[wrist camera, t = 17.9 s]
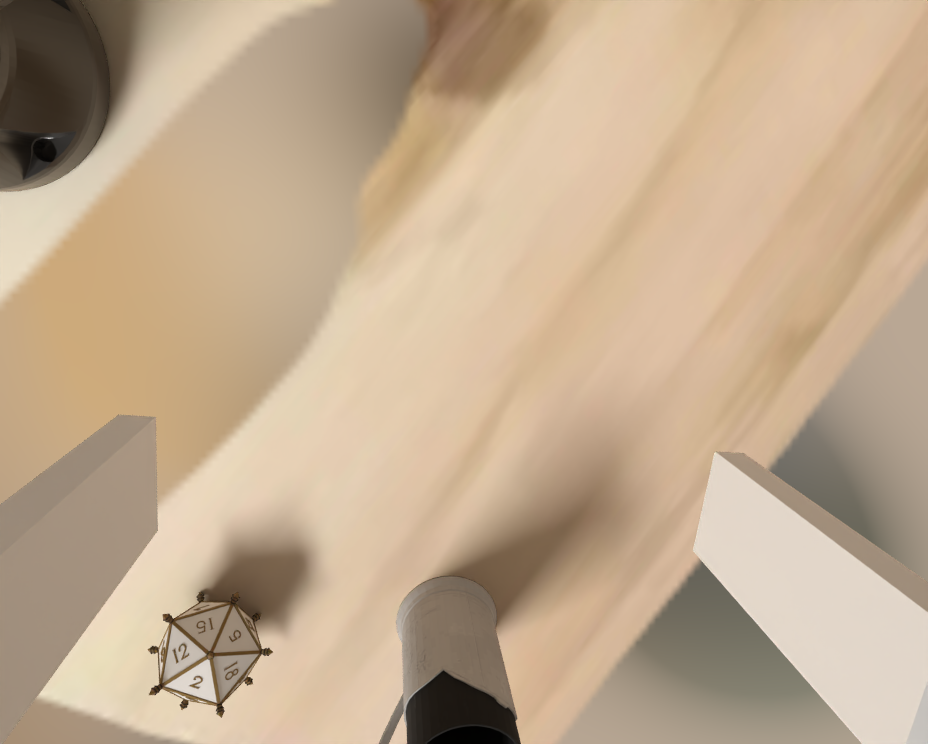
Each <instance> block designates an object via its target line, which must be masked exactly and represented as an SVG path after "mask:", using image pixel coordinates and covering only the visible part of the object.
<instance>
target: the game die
mask: <svg viewBox="0 0 928 744" xmlns="http://www.w3.org/2000/svg"><path fill="white" fill-rule="evenodd" d="M232 596H233V597H231V599H232V600H231V602H217V601H203V600H204V595H203V594H202V593H200V592H199V594H198V596H197V598H198V599H197V600H198V601H199V603H198V604H196V605H195V606H193V607H192V608H190V609H188V610H187V611H185V612H184V613H182V614H181V615H179V616H177V617H176V618H174V619H172V616H170V614H163V621H166V622H169V623H170V624H169V626H168V628H167V630H166V633H165V635H164V637H163V639H162V642H161V644H160V646H159V648H158V647H156V646H155V647H154V646H152V647H151V648H149V649H148V651H149V652H150V653H151V654H152V653H154V654H155V653H157V652H158V665H159V685H158V686H155V687H154V688H151V691H150V694H149V695H156V694H157V693H159V691H160V690H161V689H164V690H166V691H168V692H170V693H172V694H174V695H176V696H178V697H180V698H182V699H184V700H183V701H182V702H181V704H180V706H181V710H183V709H184V708H187V705H188V701H192V702H197V703H203V704H208V705H214V706H217V709H216V711H217V713H216V714H218V715H219V716H220V717H221V718H222V715H223V713H224V712H225V711H224V709H223V708H224V707H223V706H222V703H223V702H224V701H225V700H226V699H227V698H228V697H229V696H230V695H231V694H232V693H233V692H234V691H235V690H236V689H237V688H238V687H239V686H240V685H241V684H242V683H243V682H244V681H245V684H247V686H248V685H251V684H253V682H252V680H253V679H251V678H250V677H248V675H249V673H250V672H251V670H252V669H253V667H254V665H255V664H256V662H257V661H258V659H259V657H260V656H261V654H263V655H264V656H266V655H267V656H269V655H270V654H271V653H273V651H271V650H270V649H269V648H268V649H266V648H265V649H262V648H261V644H260V641H259V638H258V634H257V631H256V627H255V624H254V621H257V620H258V619H260V616H261V614H257V613H256V614H255V615H253V617H252V618H251V617H250V616H249V615H248V614H246V613H245V612H244V611H243V610H242V609H241V608H240V607H239V606H238V605H237V604H236V601H238V598H240V597H239V594H238V592H237V593H235V594H233V595H232Z"/></svg>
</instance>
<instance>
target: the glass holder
mask: <svg viewBox="0 0 928 744" xmlns="http://www.w3.org/2000/svg"><path fill="white" fill-rule="evenodd" d="M496 622H497V612H496V607H495V604H494V602H493V599H492V597H491V596H490V595H489V593H488V592H487V591H486V590H485V589H484V588H483V587H482V586H481V585H479V584H477V583H476V582H474V581H472V580H469V579H467V578H462V577H456V576H445V577H438V578H434V579H431V580H428V581H426V582H424V583H422V584H420V585H419V586H417V587H416V588H414V589H413V590H412V591H411V592H410V593H409V594H408V595H407V596H406V598H405V599H404V600H403V602H402V604H401V606H400V608H399V611H398V614H397V620H396V624H397V632H398V635H399V638H400V640H401V642H402V656H403V695H402V697H401V699H400V701H399V703H398V705H397V706H396V708H395V710H394V712H393V714H392V716H391V719H390V721H389V723H388V725H387V727H386V729H385V731H384V733H383V735H382V737H381V740H380V742H379V744H389V742H390V740H391V737H392V735H393V733H394V731H395V728H396V726H397V724H398V722H399V720H400V718H401V716H402V714H403V712H404V720H405V724H406V727H407V744H521V743H520V738H519V734H518V730H517V726H516V722H515V721H516V720H517V715H516V711H515V707H514V703H513V699H512V694H511V690H510V686H509V682H508V678H507V674H506V670H505V666H504V662H503V658H502V654H501V650H500V646H499V641H498V637H497V633H496V629H495V627H496Z"/></svg>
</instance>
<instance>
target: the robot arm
mask: <svg viewBox="0 0 928 744" xmlns="http://www.w3.org/2000/svg"><path fill="white" fill-rule="evenodd" d="M109 96H110V80H109V70H108V64H107V59H106V54H105V51H104V47H103V44H102V41H101V39H100V36H99V34H98V31H97V29H96V27H95V25H94V23H93V21H92V19H91V17H90V15H89V13H88V12H87V10H86V8H85V7H84V5H83V4H82V3H81V1H80V0H0V192H11V191H22V190H28V189H33V188H37V187H40V186H43V185H46V184H48V183H51V182H53V181H55V180H57V179H59V178H61V177H62V176H64V175H66V174H67V173H69V172H70V171H71V170H72V169H74V168H75V167H76V166H77V165H78V164H79V163H80V162H81V161H82V160H83V159H84V158H85V157H86V156H87V155H88V153H89V152H90V151H91V149H92V148H93V146H94V145H95V143H96V141H97V139H98V137H99V135H100V133H101V131H102V128H103V126H104V122H105V119H106V115H107V111H108V105H109ZM157 531H158V519H157V462H156V417H146V416H130V415H118V416H116V417H115V418H114V419H112V420H111V421H110V422H108V423H107V424H106V425H104V426H103V427H102V428H101V429H99V430H98V431H96V432H95V433H94V434H93V435H91V436H90V437H89V438H87V439H86V440H85V441H84V442H82V443H81V444H79V445H78V446H77V447H76V448H74V449H73V450H71V451H70V452H69V453H68V454H66V455H65V456H63V457H62V458H61V459H60V460H58V461H57V462H56V463H54V464H53V465H52V466H50V467H49V468H48V469H46V470H45V471H44V472H43V473H41V474H40V475H38V476H37V477H36V478H34V479H33V480H32V481H30V482H29V483H28V484H27V485H25V486H24V487H23V488H21V489H20V490H19V491H17V492H16V493H15V494H13V495H12V496H11V497H9V498H8V499H7V500H5V501H4V502H3V503H1V504H0V744H3V743H4V742H5V740H6V739H7V737H8V736H9V735H10V733H11V732H12V730H13V729H14V728H15V726H16V725H17V724H18V722H19V721H20V720H21V718H22V717H23V715H24V714H25V713H26V711H27V710H28V708H29V707H30V706H31V704H32V703H33V702H34V700H35V699H36V698H37V696H38V695H39V693H40V692H41V691H42V689H43V688H44V686H45V685H46V684H47V682H48V681H49V680H50V678H51V677H52V675H53V674H54V673H55V671H56V670H57V669H58V667H59V666H60V664H61V663H62V662H63V660H64V659H65V658H66V656H67V655H68V653H69V652H70V651H71V649H72V648H73V647H74V645H75V644H76V642H77V641H78V640H79V638H80V637H81V635H82V634H83V633H84V631H85V630H86V629H87V627H88V626H89V624H90V623H91V622H92V620H93V619H94V618H95V616H96V615H97V613H98V612H99V611H100V609H101V608H102V607H103V605H104V604H105V602H106V601H107V600H108V598H109V597H110V596H111V594H112V593H113V591H114V590H115V589H116V587H117V586H118V584H119V583H120V582H121V580H122V579H123V578H124V576H125V575H126V573H127V572H128V571H129V569H130V568H131V567H132V565H133V564H134V562H135V561H136V560H137V558H138V557H139V556H140V554H141V553H142V551H143V550H144V549H145V547H146V546H147V545H148V543H149V542H150V540H151V539H152V538H153V536H154V535H155V533H156V532H157ZM693 551H694V553H695V554H696V555H697V556H698V557H699V558H700V559H701V561H702V562H703V563H704V564H705V565H706V566H707V567H708V568H709V570H710V571H711V572H712V573H713V574H714V575H715V576H716V578H717V579H718V580H719V581H720V582H721V583H722V584H723V586H724V587H725V588H726V589H727V590H728V591H729V592H730V593H731V595H732V596H733V597H734V598H735V599H736V600H737V601H738V603H739V604H740V605H741V606H742V607H743V608H744V610H745V611H746V612H747V613H748V614H749V615H750V616H751V618H752V619H753V620H754V621H755V622H756V623H757V624H758V625H759V627H760V628H761V629H762V630H763V631H764V632H765V634H766V635H767V636H768V637H769V638H770V639H771V640H772V642H773V643H774V644H775V645H776V646H777V647H778V648H779V649H780V651H781V652H782V653H783V654H784V655H785V656H786V657H787V659H788V660H789V661H790V662H791V663H792V664H793V665H794V666H795V668H796V669H797V670H798V671H799V672H800V673H801V674H802V676H803V677H804V678H805V679H806V680H807V681H808V683H809V684H810V685H811V686H812V687H813V688H814V689H815V691H816V692H817V693H818V694H819V695H820V696H821V697H822V698H823V700H824V701H825V702H826V703H827V704H828V705H829V706H830V708H831V709H832V710H833V711H834V712H835V713H836V714H837V715H838V717H839V718H840V719H841V720H842V721H843V723H844V724H845V725H846V726H847V727H848V728H849V729H850V730H851V732H852V733H853V734H854V735H855V736H856V737H857V738H858V740H859V741H860V742H861V743H862V744H928V582H927V581H926V580H924V579H923V578H921V577H920V576H918V575H917V574H915V573H914V572H913V571H911V570H910V569H908V568H907V567H906V566H904V565H903V564H901V563H900V562H898V561H897V560H896V559H894V558H893V557H891V556H890V555H888V554H887V553H886V552H884V551H883V550H881V549H880V548H878V547H877V546H876V545H874V544H872V543H871V542H870V541H868V540H867V539H865V538H864V537H863V536H861V535H860V534H858V533H857V532H856V531H854V530H853V529H851V528H850V527H848V526H847V525H845V524H844V523H843V522H841V521H840V520H838V519H837V518H836V517H834V516H832V515H831V514H830V513H828V512H827V511H826V510H824V509H822V508H821V507H820V506H818V505H817V504H815V503H814V502H813V501H811V500H810V499H808V498H807V497H805V496H804V495H803V494H801V493H800V492H798V491H797V490H795V489H794V488H793V487H791V486H790V485H788V484H787V483H785V482H784V481H783V480H781V479H780V478H778V477H777V476H775V475H774V474H773V473H771V472H770V471H768V470H767V469H765V468H764V467H763V466H761V465H760V464H758V463H757V462H755V461H754V460H753V459H751V458H750V457H748V456H747V455H745V454H744V453H731V452H715V454H714V458H713V463H712V467H711V472H710V476H709V481H708V485H707V490H706V494H705V499H704V503H703V508H702V512H701V517H700V521H699V526H698V530H697V535H696V539H695V544H694V548H693Z"/></svg>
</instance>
